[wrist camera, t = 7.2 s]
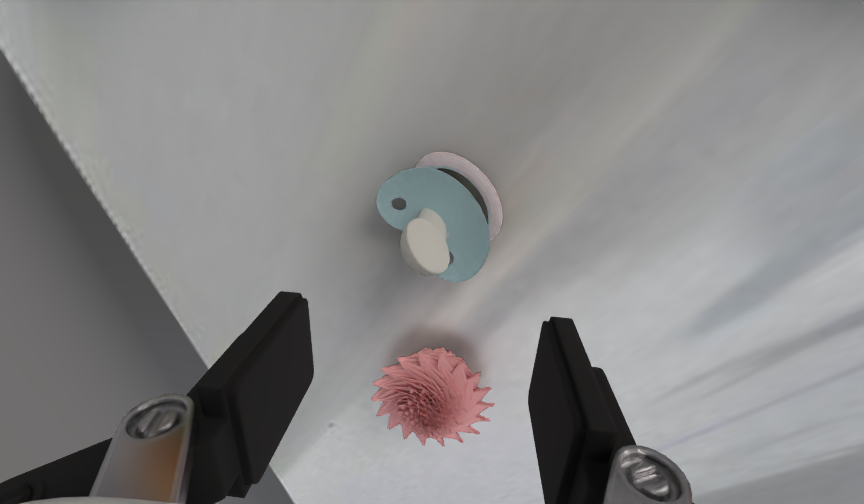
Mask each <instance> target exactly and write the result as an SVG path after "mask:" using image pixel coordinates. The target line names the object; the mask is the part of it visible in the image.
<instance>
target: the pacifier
mask: <svg viewBox="0 0 864 504" xmlns="http://www.w3.org/2000/svg"><path fill="white" fill-rule="evenodd" d="M439 168H445V169H450V170H453V171H455V172H457V173H459V174H461V175H463V176H464V177H465V178H467V179H468V180H469V181H470V182H471V183H472V184H473V185H474V186H475V187H476V188H477V190H478V191H479V193H480V194H481V195H482V197H483V199H484V202H485V204H486V207H487V211H488V216H487V221H486V218H485V216H484V213H483V211H482V209H481V207H480V205H479V204H478V202H477V201H476V199H475V198H474V197H473V195H472V194H471V193H470V192H469V191H468V189H467V188H466V187H465V186H464V185H463V184H461V183H460V182H459V181H457V180H456V179H455V178H453V177H452V176H450V175H448V174H446V173H444V172H442V171H439V170H436V169H439ZM396 198H402V199H404V200H405V201H406V207H405V208H404V209H402V210H397V209H395V208H394V207H393V206H392V201H393V200H394V199H396ZM376 203H377V208H378V211H379V213H380V215H381V216H382V217H383V219H384V220H385V221H386V222H387V223H389V224H390V225H391V226H393V227H395V228H397V229H399V230H401V231H403V232H402V235H401V239H400V249H401V254H402V256H403V259H404V261H405V262H406V264H407V265H408V266H409V267H410V268H411V269H412V270H414V271H415V272H417V273H419V274H422V275H426V276H433V275H437V276H438V277H440V278H442V279H444V280H448V281H451V282H460V281H465V280H467V279H469V278H471V277H472V276H474V275H475V274H476V273H477V272H478V271H479V270H480V269H481V267H482V266H483V264H484V262H485V260H486V257H487V255H488V252H489V247H490V242H491V241H492V240H493V239H494V238H495V237H496V236H497V235H498V233H499V231H500V228H501V226H502V217H503V213H502V207H501V202H500V200H499V197H498V195H497V192H496V190H495V188H494V187H493V185H492V184H491V182H490V181H489V179H488V178H487V177H486V176H485V175H484V174H483V172H482V171H481V170H480V169H479V168H478V167H477V166H475V165H474V164H472V163H471V162H470V161H468V160H467V159H465V158H463V157H460V156H458V155H456V154H454V153H448V152H442V151H440V152H433V153H429V154H428V155H426V156H424V157H422V158H421V159H420V161H419V162H418V163H417V164H416V166H415V168H412V169H407V170H404V171H401V172H399V173H397V174H395V175H393V176H392V177H390V178H389V179H388V180H387V181H386V182H385V183H384V184H383V185H382V187H381V188H380V190H379V192H378V194H377V198H376ZM449 252H451V253H452V254H453V257H454V260H453V262H452V263H450V264H449V260H450V254H449Z"/></svg>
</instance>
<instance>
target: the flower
mask: <svg viewBox="0 0 864 504" xmlns="http://www.w3.org/2000/svg"><path fill="white" fill-rule="evenodd" d="M397 359H398V361H399V362H400V364H396V365H392V366H388V367H384V368H381V369H382V371H383V372H385V373H386V375H384V376H383V377H382V378H380V379H378V380H376V381H374V382H373V385H375V386H379V387H381V388H380V389H379V390H378V391H377V393H376V394H375V395H374V396H373V397H372V398H371V400H373V401H383V403H382V405H381V407H380V409H379V411H378V413H377V415H376V416H381V415H385V414H389V413H391V414H390V419H389V423H388V428H389V430H390V429H391V428H393V427H395V426H397V425H398V424H401V427H402V431H403V437H404V439H407V437H408V436H409V434H411V432H414V433H415V434H416V436H417V437H418V439H419V440H420V441H421V443H422V445H424V444H425V442H426V439H427V438H429V437H430V438H433V439H436V440H437V441H438V442H439V443H440V444H441V445H442V446H445V445H444V440H443V437H446V438H452V439H456V440H458V441H460V442H462V443H463V442H464V441H463V440H462V439H461V437H460V436H459V434H458V433H457V432H467V433H475V434H478V433H479V431H477V430H476V429H474V428H473V427H471V426H469V425H470V424H472V423H475V422H478V421H490V420H489V419H488V418H485V417H484V416H481V415H479V413H481V412H482V411H484V410H485V409H486V408H488V407H491V406H493V405H494V404H495V403H486V402H482V401H481V400H482V399H483V397H484V396H485V395H486V394H487V393H488V391H489V390H490V389H492V388H490V387H486V388H482V389H480V388H478V387H477V385H478V381H479V377H480V372H481V371H480V372H477V373H474V374H473V375H472V374H471V372H470V370H469V368H468V367H467V365H466V363H465V362H464V361H463V358H460V357H455V355H454V354H452V351H451V350H450V351H447V352H446V350H445V349H444V347H442V348H440V349H439V347H438V348H436V349H435V350H432V349H429V348H428V347H426V348H424V349H423V350H421V351H420V352H419V351H418V352H417V353H416V354H415V353H412V354H410V355H409V356H404V357H398V358H397ZM388 428H387V429H388ZM479 434H480V433H479ZM479 434H478V435H479Z"/></svg>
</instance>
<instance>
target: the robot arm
mask: <svg viewBox="0 0 864 504" xmlns="http://www.w3.org/2000/svg"><path fill="white" fill-rule="evenodd" d="M313 374H314V366H313V355H312V343H311V332H310V320H309V309H308V301H307V299H306V298H302V295H301V294H300V293H294V292H283V291H281V292H279V293H278V294H277V295H276V296H275V298H274V299H273V300H272V301H271V302H270V303H269V304H268V305H267V307H266V308H265V309H264V310H263V311H262V312H261V313H260V314H259V316H258V317H257V318H256V319H255V320H254V321H253V322H252V324H251V325H250V326H249V327H248V328H247V329H246V330H245V331H244V333H242V334H241V335H240V336H239V337H238V338H237V339H236V340H235V341H234V342H233V343H232V344H231V346H230V347H229V348H228V349H227V350H226V351H225V352H224V353H223V355H222V356H221V357H220V358H219V359H218V360H217V361H216V362H215V364H214V365H213V366H212V367H211V368H210V369H209V370H208V371H207V373H206V374H205V375H204V376H203V377H202V378H201V379H200V380H199V382H198V383H197V384H196V385H195V386H194V387H193V388H192V389H191V391H190V392H189V393H188V394H187V395H183V394H175V393H174V394H164V395H160V396H157V397H154V398H151V399H149V400H147V401H144V402H142V403H140V404H139V405H137V406H136V407H134V408H133V409H131V410H130V411H129V412H128V413H127V414H126V415H125V416H124V417H123V418H122V420H121V421H120V423H119V425H118V426H117V429H116V431H115V434H114V436H113V438H110V439H108V440H105V441H103V442H100V443H98V444H95V445H93V446H90V447H88V448H85V449H83V450H80V451H78V452H76V453H73V454H71V455H68V456H66V457H63V458H61V459H58V460H56V461H53V462H51V463H48V464H46V465H43V466H41V467H38V468H36V469H33V470H31V471H28V472H26V473H23V474H21V475H18V476H16V477H14V478H11V479H9V480H7V481H5V482H2V483H0V504H218V502H219V501H221V500H223V499H224V498H225V497H226V496H232V497H240V498H245V496H246V494H247V492H248V490H249V488H250V487H251V485H252V484H257V483H258V482H259V481H260V479H261V478H262V475H263V474H264V472H265V470H266V468H267V466H268V464H269V462H270V460H271V459H272V457H273V455H274V453H275V451H276V449H277V447H278V445H279V443H280V441H281V439H282V437H283V436H284V434H285V432H286V430H287V428H288V426H289V424H290V422H291V420H292V418H293V416H294V415H295V413H296V411H297V409H298V407H299V405H300V403H301V401H302V399H303V397H304V395H305V394H306V392H307V390H308V388H309V386H310V384H311V382H312V379H313ZM528 405H529V412H530V417H531V423H532V429H533V435H534V441H535V447H536V453H537V459H538V465H539V471H540V477H541V483H542V489H543V494H544V500H545V504H694V503H692V492H691V487H690V483H689V481H688V480H687V478H686V476H685V474H684V473H683V472H682V471H681V469H680V468H679V467H678V466H677V465H676V464H675V463H674V462H672V461H671V460H670V459H669V458H667V457H666V456H665V455H663V454H661V453H659V452H657V451H655V450H653V449H650V448H647V447H644V446H637V445H636V443H635V441H634V439H633V436H632V434H631V432H630V429H629V427H628V425H627V423H626V420H625V418H624V416H623V414H622V411H621V409H620V407H619V405H618V402H617V400H616V398H615V395H614V393H613V391H612V389H611V386H610V384H609V382H608V380H607V377H606V375H605V373H604V371H603V370H602V369H601V368H597V367H592V366H591V364H590V361H589V359H588V356H587V354H586V351H585V349H584V346H583V344H582V341H581V339H580V337H579V334H578V332H577V329H576V327H575V324H574V322H573V320H572V319H571V318H560V317H551V318H550V320H549V321H544V322H543V324H542V328H541V333H540V338H539V343H538V348H537V353H536V358H535V363H534V369H533V374H532V379H531V384H530V389H529V395H528Z"/></svg>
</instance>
